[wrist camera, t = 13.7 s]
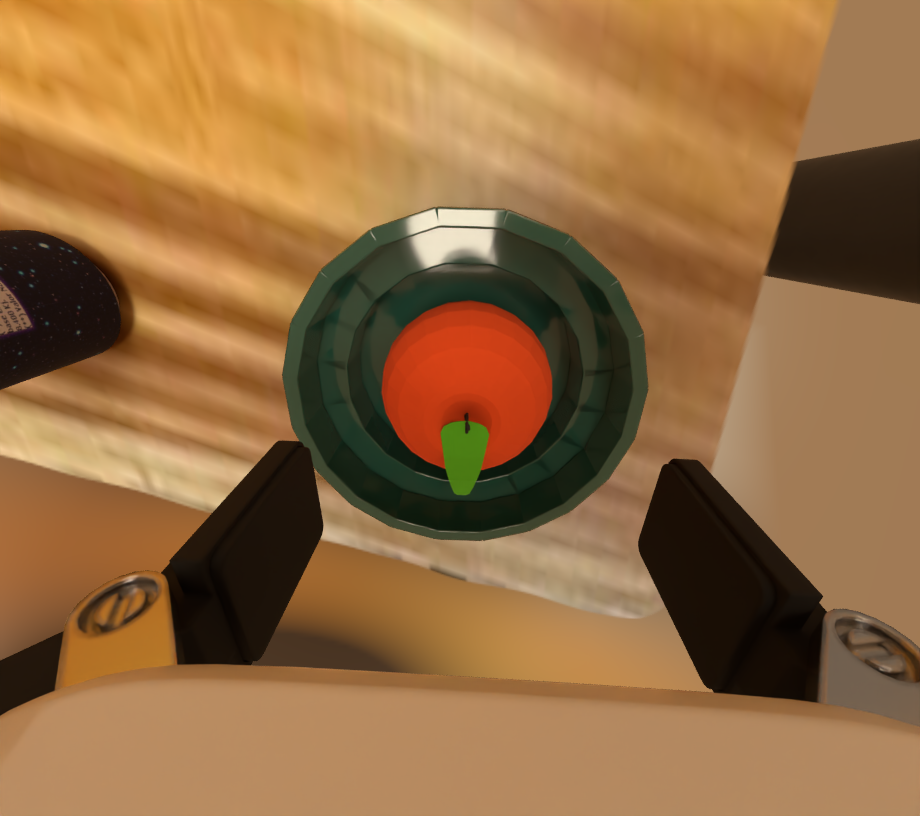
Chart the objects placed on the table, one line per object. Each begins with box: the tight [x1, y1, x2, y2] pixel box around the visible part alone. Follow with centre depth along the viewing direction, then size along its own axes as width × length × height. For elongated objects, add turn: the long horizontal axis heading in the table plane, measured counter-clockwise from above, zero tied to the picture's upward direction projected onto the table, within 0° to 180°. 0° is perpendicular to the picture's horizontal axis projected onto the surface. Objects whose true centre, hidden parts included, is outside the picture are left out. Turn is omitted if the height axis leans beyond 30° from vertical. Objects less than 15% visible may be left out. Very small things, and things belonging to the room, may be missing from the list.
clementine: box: [382, 300, 552, 495], centre depth 16 cm, size 8×7×7 cm
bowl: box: [282, 207, 648, 541], centre depth 17 cm, size 14×14×5 cm
